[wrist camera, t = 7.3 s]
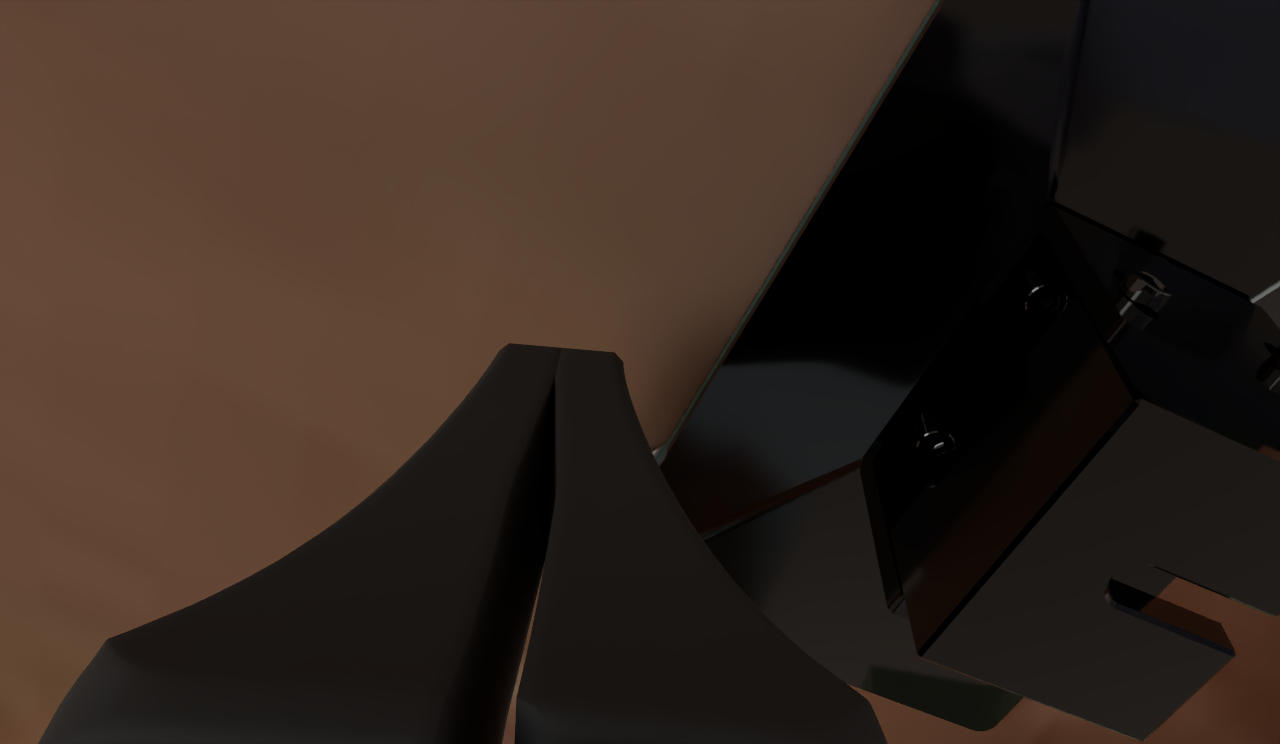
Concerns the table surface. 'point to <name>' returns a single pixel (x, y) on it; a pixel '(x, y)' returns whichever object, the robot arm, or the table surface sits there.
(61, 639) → the table surface
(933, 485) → the build plate
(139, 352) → the table surface
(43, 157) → the table surface
